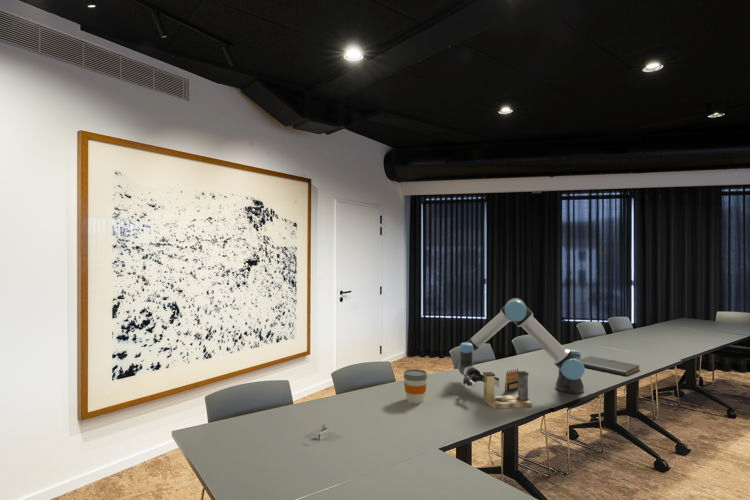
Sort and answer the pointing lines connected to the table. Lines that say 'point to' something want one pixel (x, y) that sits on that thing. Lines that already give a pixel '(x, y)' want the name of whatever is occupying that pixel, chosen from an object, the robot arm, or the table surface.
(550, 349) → the robot arm
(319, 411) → the table surface
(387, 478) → the table surface
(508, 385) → the ammunition clip
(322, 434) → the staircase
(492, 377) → the brass leg
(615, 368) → the grey hardcover book
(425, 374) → the reusable coffee cup
